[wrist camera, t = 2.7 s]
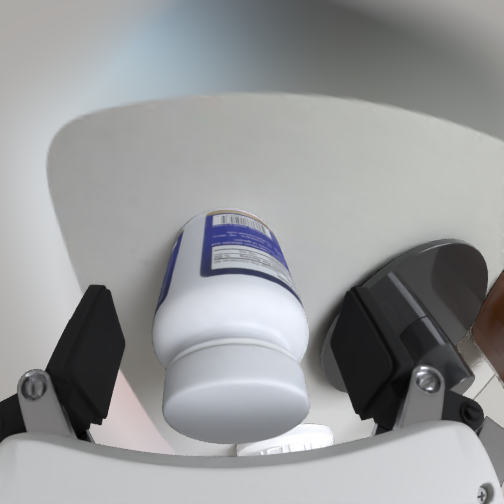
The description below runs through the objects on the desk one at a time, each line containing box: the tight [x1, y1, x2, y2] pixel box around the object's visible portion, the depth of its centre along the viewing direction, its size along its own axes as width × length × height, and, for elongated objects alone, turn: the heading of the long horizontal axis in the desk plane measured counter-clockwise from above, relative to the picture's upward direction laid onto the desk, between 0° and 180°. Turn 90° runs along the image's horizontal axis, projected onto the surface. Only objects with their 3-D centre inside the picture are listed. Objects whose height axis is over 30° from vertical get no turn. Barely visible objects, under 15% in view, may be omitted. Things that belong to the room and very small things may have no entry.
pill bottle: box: [152, 208, 310, 444], centre depth 10 cm, size 5×5×9 cm
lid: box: [320, 239, 488, 395], centre depth 15 cm, size 15×15×7 cm
